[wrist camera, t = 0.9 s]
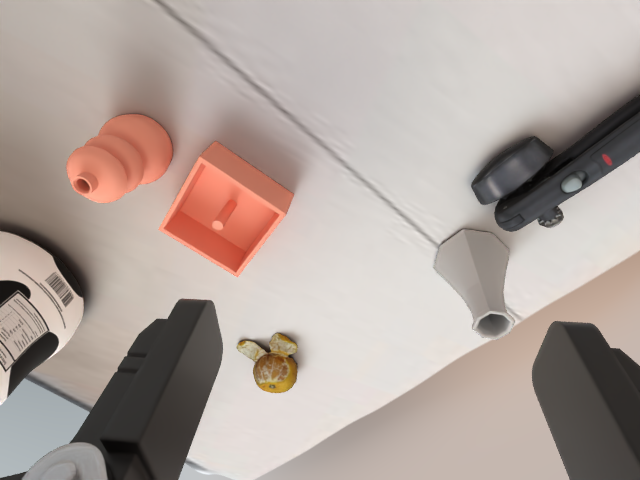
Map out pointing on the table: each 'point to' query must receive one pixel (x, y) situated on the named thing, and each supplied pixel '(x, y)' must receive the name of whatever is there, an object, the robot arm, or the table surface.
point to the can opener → (555, 171)
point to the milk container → (33, 308)
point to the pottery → (185, 189)
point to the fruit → (272, 363)
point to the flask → (478, 278)
